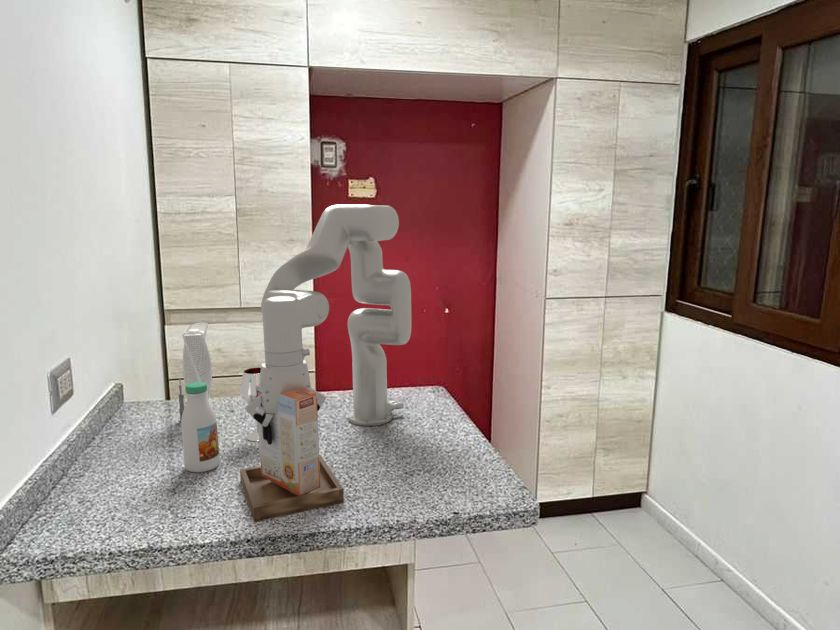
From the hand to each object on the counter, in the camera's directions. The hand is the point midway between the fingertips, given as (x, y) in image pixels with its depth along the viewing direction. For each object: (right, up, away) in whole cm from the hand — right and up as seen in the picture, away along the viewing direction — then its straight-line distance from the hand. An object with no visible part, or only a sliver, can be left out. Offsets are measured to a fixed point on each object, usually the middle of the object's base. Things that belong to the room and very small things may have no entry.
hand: (288, 438), depth 124 cm
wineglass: (-15, -6, +31) cm, 35 cm away
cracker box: (0, -10, +2) cm, 10 cm away
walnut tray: (0, -12, +2) cm, 12 cm away
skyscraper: (-34, -4, +43) cm, 55 cm away
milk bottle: (-23, -10, +14) cm, 29 cm away
